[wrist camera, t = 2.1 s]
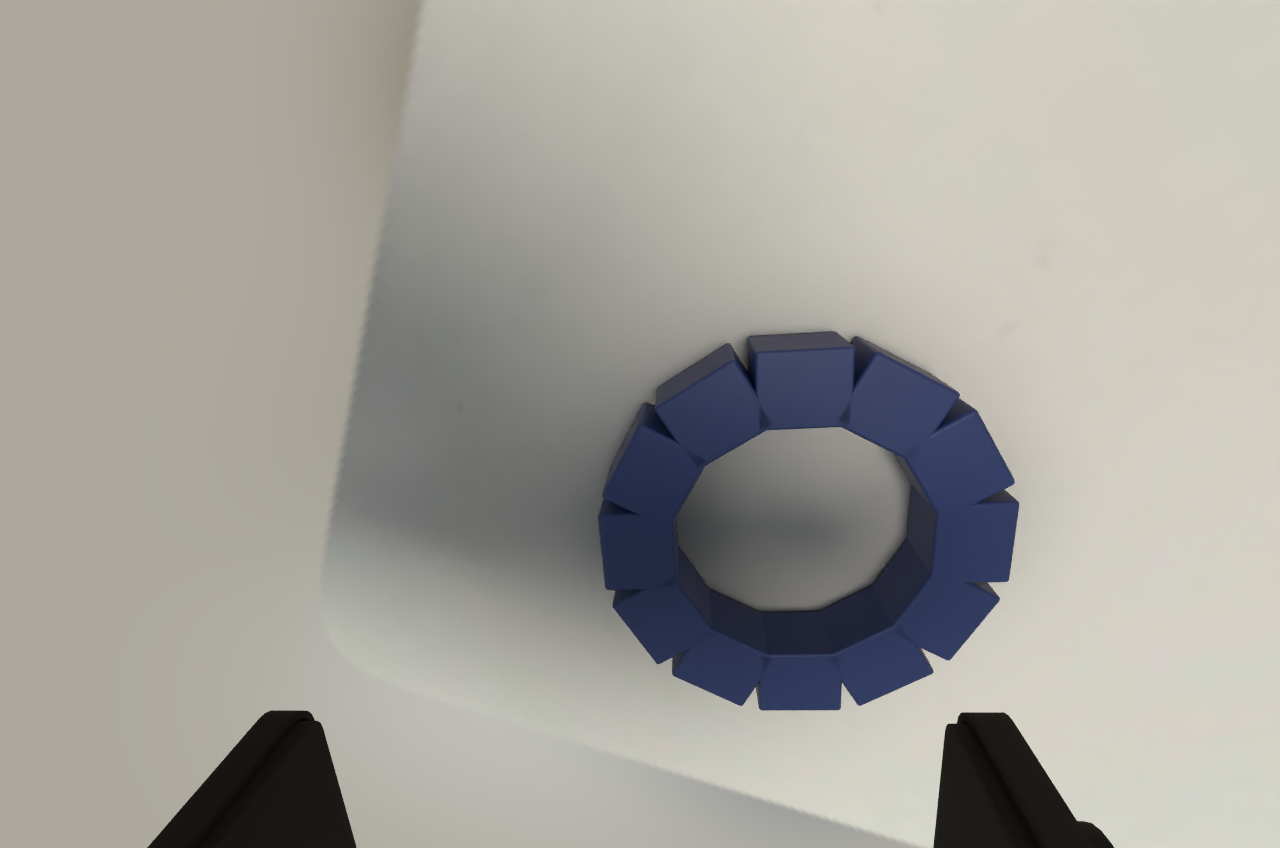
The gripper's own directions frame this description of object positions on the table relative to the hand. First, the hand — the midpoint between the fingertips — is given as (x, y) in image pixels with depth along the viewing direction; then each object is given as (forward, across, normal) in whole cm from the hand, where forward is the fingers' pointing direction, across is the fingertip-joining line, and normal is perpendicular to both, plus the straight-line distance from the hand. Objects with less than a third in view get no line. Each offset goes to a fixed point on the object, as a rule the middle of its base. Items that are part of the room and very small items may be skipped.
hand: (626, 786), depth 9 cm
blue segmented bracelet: (+8, -4, 0) cm, 9 cm away
